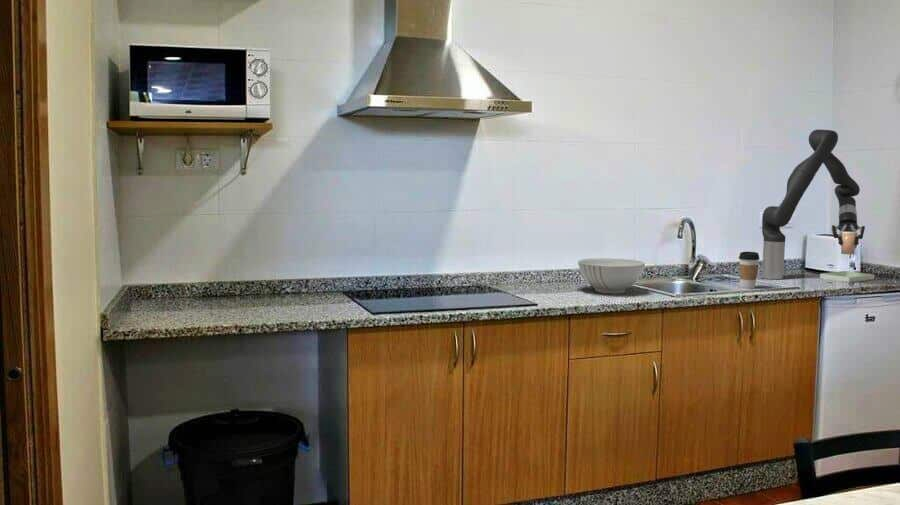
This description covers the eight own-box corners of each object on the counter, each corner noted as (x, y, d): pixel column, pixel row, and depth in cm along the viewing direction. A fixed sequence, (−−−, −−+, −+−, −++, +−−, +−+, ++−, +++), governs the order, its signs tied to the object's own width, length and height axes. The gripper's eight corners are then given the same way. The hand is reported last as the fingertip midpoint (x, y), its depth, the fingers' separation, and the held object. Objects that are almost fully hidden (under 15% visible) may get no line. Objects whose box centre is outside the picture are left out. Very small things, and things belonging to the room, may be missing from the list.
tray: (848, 283, 347) (849, 277, 347) (819, 279, 359) (820, 273, 359) (873, 279, 358) (874, 274, 357) (844, 276, 369) (845, 270, 369)
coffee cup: (759, 287, 333) (761, 252, 331) (755, 289, 326) (757, 254, 324) (739, 285, 338) (741, 251, 336) (735, 287, 330) (736, 252, 329)
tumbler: (841, 254, 354) (842, 232, 353) (840, 252, 359) (841, 231, 358) (855, 254, 352) (856, 232, 350) (854, 253, 357) (855, 231, 356)
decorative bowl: (578, 295, 308) (578, 265, 306) (576, 285, 334) (577, 257, 333) (647, 297, 304) (648, 266, 303) (640, 287, 330) (641, 258, 329)
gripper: (831, 210, 363) (831, 238, 353) (866, 211, 357) (867, 239, 348) (830, 221, 368) (830, 249, 359) (864, 222, 363) (865, 250, 353)
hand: (848, 244), depth 353 cm, fingers closed on tumbler, 5 cm apart
